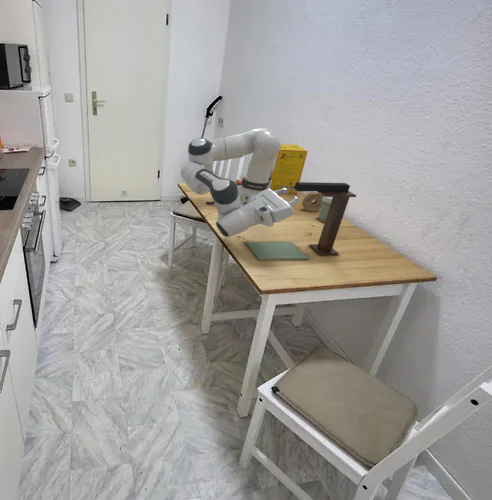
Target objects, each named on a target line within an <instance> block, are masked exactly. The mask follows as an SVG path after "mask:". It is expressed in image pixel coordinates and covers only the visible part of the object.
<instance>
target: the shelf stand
mask: <svg viewBox="0 0 492 500" xmlns="http://www.w3.org/2000/svg"><path fill="white" fill-rule="evenodd" d="M316 192H318V193H320V194H322V195H323V196H325V197H333V198H332V201H331V204H330V208H329V211H328V214H327V217H326V220H325V222H323V223H324V224H323V227H322V230H321V232H320V236H319V239H318V243H310V244H309V248H310V249H312V250H313V251H314V252H315V253H316V254H317V255H319V256H339V252H338V251H337V250H335V249H334V244H335V242H336V238H337V236H338V233H339V230H340V226H341V224H342V220H343V218H344V215H345V212H346V209H347V206H348V203H349V200H350V199H351V198H356V197H357V194H355V193H354V192H351V191H350V190H349V191H348V192H319V191H316Z"/></svg>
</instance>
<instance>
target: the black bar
mask: <svg viewBox="0 0 492 500" xmlns="http://www.w3.org/2000/svg"><path fill="white" fill-rule="evenodd" d="M350 188H351V185H350V184H348V183H347V182H310V181H309V182H308V181H307V182H306V181H305V182H302V181H300V182H296V184H295V188H294V189H296V190H297V192H317V191H319V192H348V191H350ZM319 192H318V193H319Z"/></svg>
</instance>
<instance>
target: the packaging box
mask: <svg viewBox="0 0 492 500" xmlns="http://www.w3.org/2000/svg"><path fill="white" fill-rule="evenodd" d="M307 155H308V150H306V149H305V148H303V147H302V146H300V145H298V144H289V143H288V144H287V143H286V144H285V143H281V147H280V150H279V152H278V153H277V155H276V157H275V160H274V162H273V164H272V167H271V171H270V176H269V180H268V182H269V185H268V189H271V190H272V191H273V192H274V191H276V190H281V189H284V188H286V189H287V190H288V193H287V194H290V195H291V194H293V195H297V193H298V191H297V190H296V189H294V188H295V184H296V182H301V177H302V175H303V171H304V167H305V164H306V163H305V162H306V159H307Z"/></svg>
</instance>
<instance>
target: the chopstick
mask: <svg viewBox="0 0 492 500" xmlns="http://www.w3.org/2000/svg"><path fill="white" fill-rule="evenodd" d="M235 182H236V183H237V185H238V186H240V185H241V179H236V181H235Z"/></svg>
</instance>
